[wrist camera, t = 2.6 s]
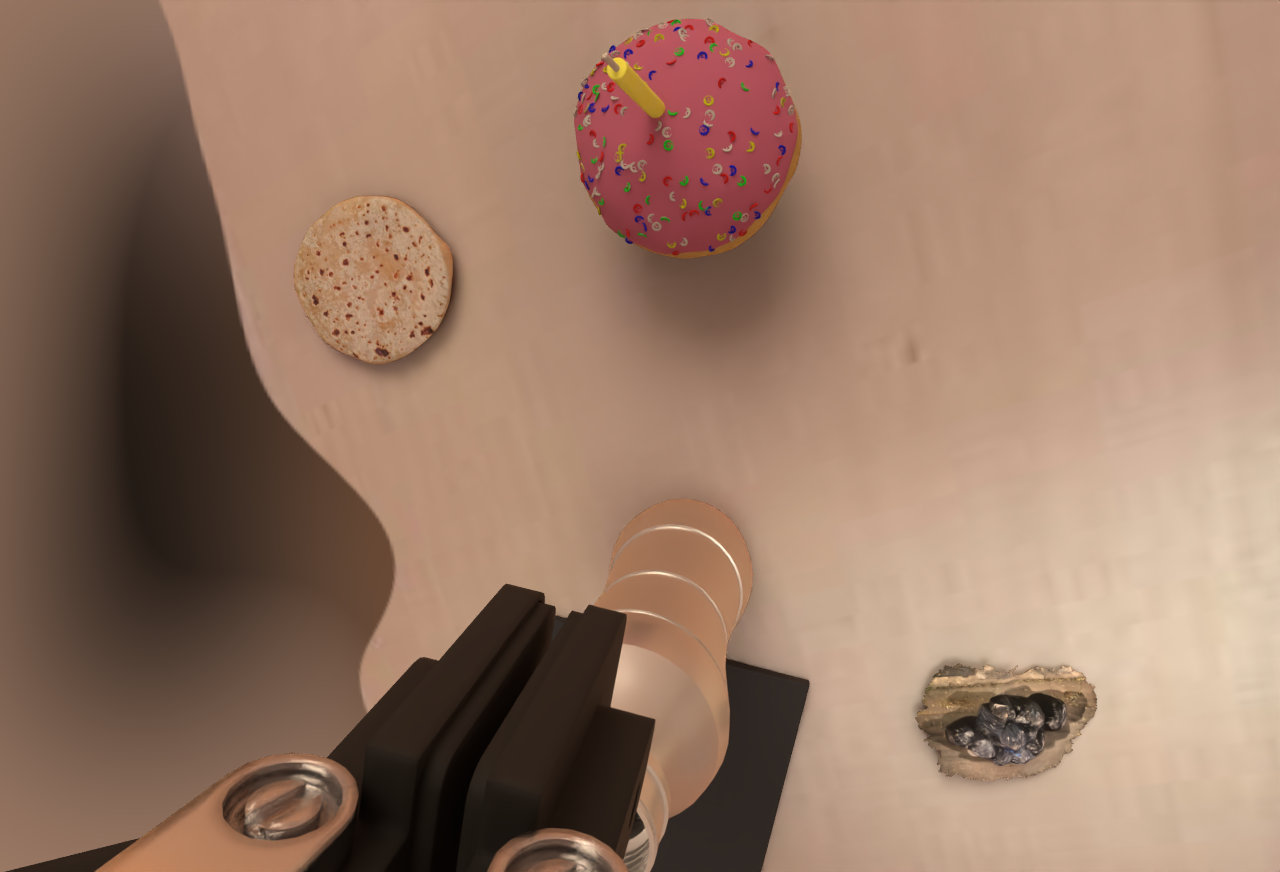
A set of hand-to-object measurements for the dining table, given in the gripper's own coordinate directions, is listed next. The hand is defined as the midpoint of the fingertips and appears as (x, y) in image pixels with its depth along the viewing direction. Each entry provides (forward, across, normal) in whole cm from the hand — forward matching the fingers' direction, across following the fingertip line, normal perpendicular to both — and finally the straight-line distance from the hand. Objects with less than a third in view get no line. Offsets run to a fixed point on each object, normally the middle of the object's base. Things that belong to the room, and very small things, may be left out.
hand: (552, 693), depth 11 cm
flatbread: (+27, +17, -2) cm, 32 cm away
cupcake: (+27, +3, -10) cm, 29 cm away
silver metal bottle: (+27, 0, +8) cm, 29 cm away
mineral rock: (+27, -16, +12) cm, 34 cm away
